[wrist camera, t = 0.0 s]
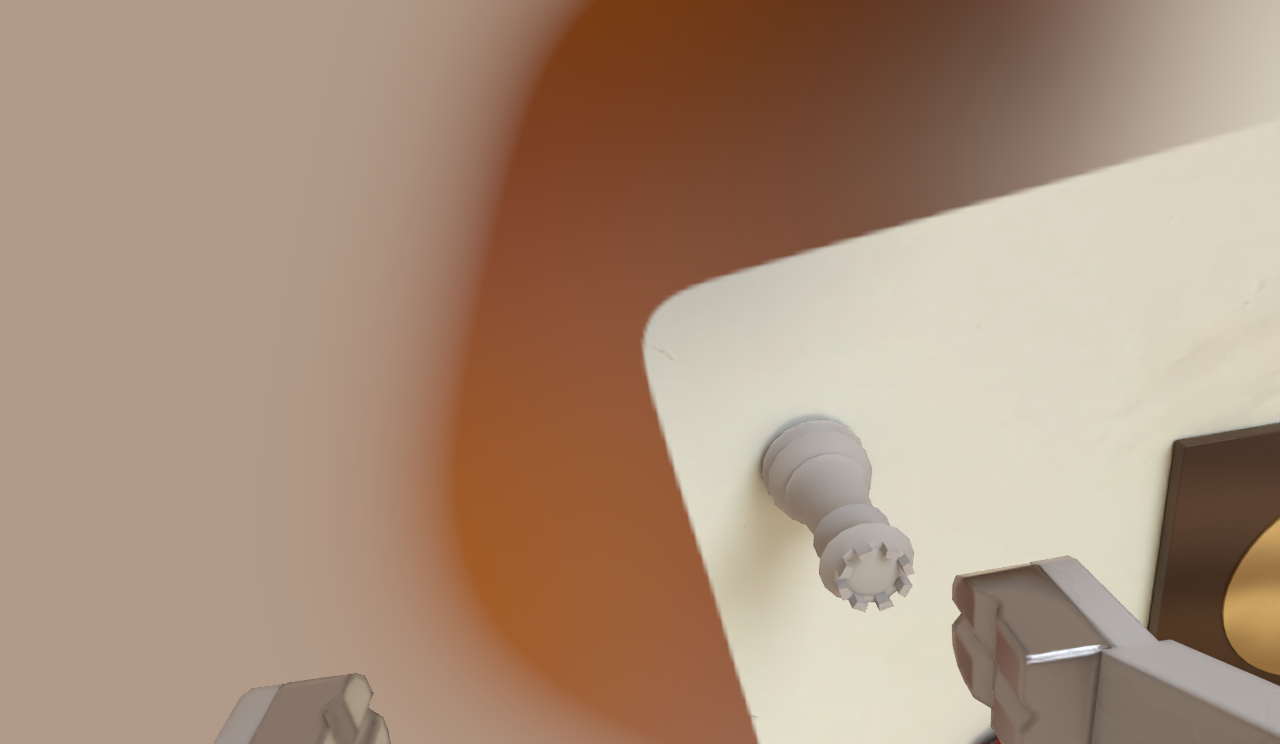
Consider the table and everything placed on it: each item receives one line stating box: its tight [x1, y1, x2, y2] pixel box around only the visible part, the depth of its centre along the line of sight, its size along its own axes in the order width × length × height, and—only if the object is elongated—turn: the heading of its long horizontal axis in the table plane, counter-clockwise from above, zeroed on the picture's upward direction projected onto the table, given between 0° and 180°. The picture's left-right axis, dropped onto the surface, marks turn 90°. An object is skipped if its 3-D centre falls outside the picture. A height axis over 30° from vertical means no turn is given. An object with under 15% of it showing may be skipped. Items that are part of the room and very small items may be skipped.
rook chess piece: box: [762, 420, 914, 612], centre depth 27 cm, size 4×4×8 cm
